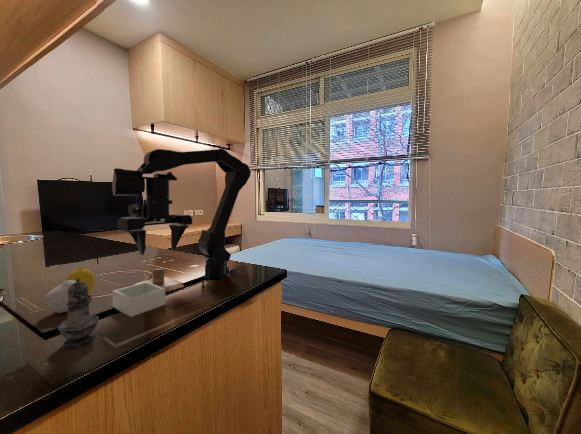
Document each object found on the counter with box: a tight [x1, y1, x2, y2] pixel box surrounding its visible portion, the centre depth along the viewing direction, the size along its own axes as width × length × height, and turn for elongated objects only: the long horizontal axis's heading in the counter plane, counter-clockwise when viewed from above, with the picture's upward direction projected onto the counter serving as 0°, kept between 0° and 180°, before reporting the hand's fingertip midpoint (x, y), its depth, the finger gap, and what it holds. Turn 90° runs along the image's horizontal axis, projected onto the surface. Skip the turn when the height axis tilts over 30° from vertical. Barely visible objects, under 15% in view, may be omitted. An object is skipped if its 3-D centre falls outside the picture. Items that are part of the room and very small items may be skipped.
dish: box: [112, 282, 166, 318], centre depth 62 cm, size 8×8×4 cm
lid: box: [133, 267, 183, 293], centre depth 74 cm, size 9×9×5 cm
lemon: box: [66, 266, 96, 294], centre depth 66 cm, size 6×6×8 cm
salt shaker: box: [57, 278, 100, 350], centre depth 47 cm, size 6×6×12 cm
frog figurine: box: [44, 279, 76, 314], centre depth 59 cm, size 6×7×7 cm
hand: (158, 251), depth 73 cm, fingers open, 9 cm apart
